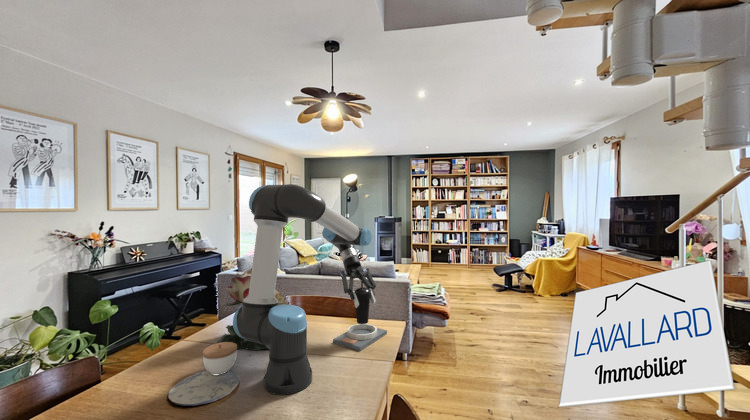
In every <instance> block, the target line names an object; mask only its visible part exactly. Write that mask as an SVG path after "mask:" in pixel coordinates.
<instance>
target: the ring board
mask: <svg viewBox="0 0 750 420" xmlns="http://www.w3.org/2000/svg"><path fill="white" fill-rule="evenodd" d="M387 334H388V330H387V329H382V328H380V327H379V328H378V327H376V326H375V325H374V324H369V323H366V324H358V323H356V324H352V325H350V326H348V327H347V330H346V332H343V333H342V334H340V335H338V336H336V337H334V338H332V343H333V344H336V345H339V346H343V347H345V348H349V349H353V350H356V351H360V352H361V351H363V350H365V348H368V347H369V346H370V345H372V344H373V343H375V342H377V341H379V339H382V338H383V337H384V336H386V335H387Z"/></svg>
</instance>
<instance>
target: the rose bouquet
mask: <svg viewBox="0 0 750 420" xmlns="http://www.w3.org/2000/svg"><path fill="white" fill-rule="evenodd" d="M251 272H252V267H251V268H250V269H247V270H244V271H243V272H242V274H239V273H236V276H235V277H232V278H231V282H232V285H227V287H223V288H222V290H226V291H227V292H228V294H229V296H230V297H231V298H232V299H234V302H227V303H225V304H222V305H221V308H224V307H229V306H237V305H240V304H241V305H243V300H244V299H245V298H246V297H247V296H248V295H249V288H250V280H251ZM275 298H276V299H277V300H278V305H290V301H287V300H286V299H285V297H284V296H283V294H282V293H280V291H278V290H277V289H275ZM225 328H226V329H227V333H228V334H227V333H225V334H223V335H222V336H221V337H220V338H219V339H217V340H216V342H215V344H216V343H222V342H232V343H235V344H236V345H237V351H244V350H249V351H252V350H253V351H262V350H267V349H268V350H269V346H267V345H263V344H259V343H256V342H252V341H247V340H245V339H244V338H241V337H239V336H238V335H237V334H236V332H235V331H234V328H233V324H232V325H230V324H228V325H227V326H225Z"/></svg>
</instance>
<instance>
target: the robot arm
mask: <svg viewBox="0 0 750 420" xmlns="http://www.w3.org/2000/svg"><path fill="white" fill-rule="evenodd" d="M248 208H249V210H250V212H251V214H252V215H253V222H254V223H255V225H256V226H257V227H256V235H255V244H254V250H253V257H252V266H251V268H252V272H251V280H250V288H249V295H248V296H247V297H246V298H245V299H244V300H243V304H241V305H240V306H239V307H237V310H236V311H235V312H234V314H233V317H232V318H233V319H232V325H233V328H234V331H235V332H236V334H237V335H238V336H239V337H241V338H244V339H245V340H247V341H252V342H256V343H259V344H263V345H267V346H269V349H268V353H269V354H268V355H269V357H268V358H269V359H268V363H267V368H266V372H265V373H264V376H263V388H264V390H265V391H267V393H270V394H274V395H291V394H294V393H298V392H300V391H303V390H305V389H306V388H308V387H309V385H310V384H311V383H312V381H313V370H312V367H311V364H310V361H309V358H308V355H307V351H308V350H307V348H308V347H307V344H308V343H307V341H308V337H307V335H308V333H307V332H308V329H307V328H308V320H307V314H306V311H305V310H304V308H301V307H300V306H297V305H294V304H289V305H278V300H277V299H276V298H275V290H276V286H277V279H278V278H277V277H278V268H279V261H280V254H281V253H280V252H281V246H282V245H281V244H282V238H283V237H282V235H283V230H284V229H283V228H285V227H286V226H288V221H289V219H290V218H291V219H292V218H295V219H302V220H305V221H307V222H308V223H314V222H315V223H317V224H318V225H320V226H322V227H323V229H322V231H321V232H322V233H321V235H322V237H323V238H324V239H325V241H326V242H329V243H330V244H332V245H333V246H334V247H336V248H337V249H338V252H339V256H340V258H341V260H342V263H343V266H344V270H341V271H340V273H339V276H340V277H341V280H342V287H343V292H344V294H347V295H349V298H350V299H351V301H352V302H353V305H354V307H356V308H357V307H358V306H359V302H358V299H357V296H356V294H355V293H354V292H355V291H353V290H354V279H358V280H360V281H361V276H363V286H365V288H368V289H370V290H371V292H370V303H371V305H372V306H374V305H375V304H376V303H377V300H376V298H375V295H376V293H375V291H374V290H375V288H376V286H377V284H376V282H375V280H374V279H373V276H372V274H371V273H370V269H369V267H367V268H364V267H362V263H361V260H360V259H359V255H358V252H357V250H356V247H355V246H360V247H363V246H365V247H366V246H369V245H370V244H371V243H372V238H373V234H372V231H371V230H370V229H369V228H365V227H360V226H358V225H356V224H355V223H353V222H352V221H350V220H349V219H348V218H347V217H345V216H343V215H342V214H341V213H339V212H337V211H336V210H334V209H333V208H331V207H330V206H329V205H327V203H326V201H325V199H324V198H322V197H321V196H319V195H318V194H317V193H315V192H313V191H311V190H310V189H307V188H306V187H303V186H301V185H297V184H294V183H293V184H292V183H288V184H267V185H261V186H259V187H257V188H256V189H254V190H253V191H252V192H251V194H250V196H249V200H248ZM347 276H348V278H349V279H347ZM348 281H349V283H348ZM348 284H349V285H348ZM356 308H355V309H356Z"/></svg>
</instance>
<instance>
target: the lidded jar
mask: <svg viewBox="0 0 750 420" xmlns="http://www.w3.org/2000/svg"><path fill="white" fill-rule="evenodd" d="M237 353H238V350H237V345H236V344H235V343H232V342H222V343H216V342H215V343H214V344H210V345H209V346H206V347H205V348H204V349H203V350H202V362H203V366H204V369H205V370H206V371H207V372H208V373H210V374H211V373H212V374H221V373H224V372H227V371H228V370H229V371H230V370H231V369H232V367H233V366H234V365H235V362H236V361H237V356H238V355H237ZM229 371H228V372H229ZM228 372H227V373H228ZM212 374H211V375H212Z"/></svg>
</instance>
